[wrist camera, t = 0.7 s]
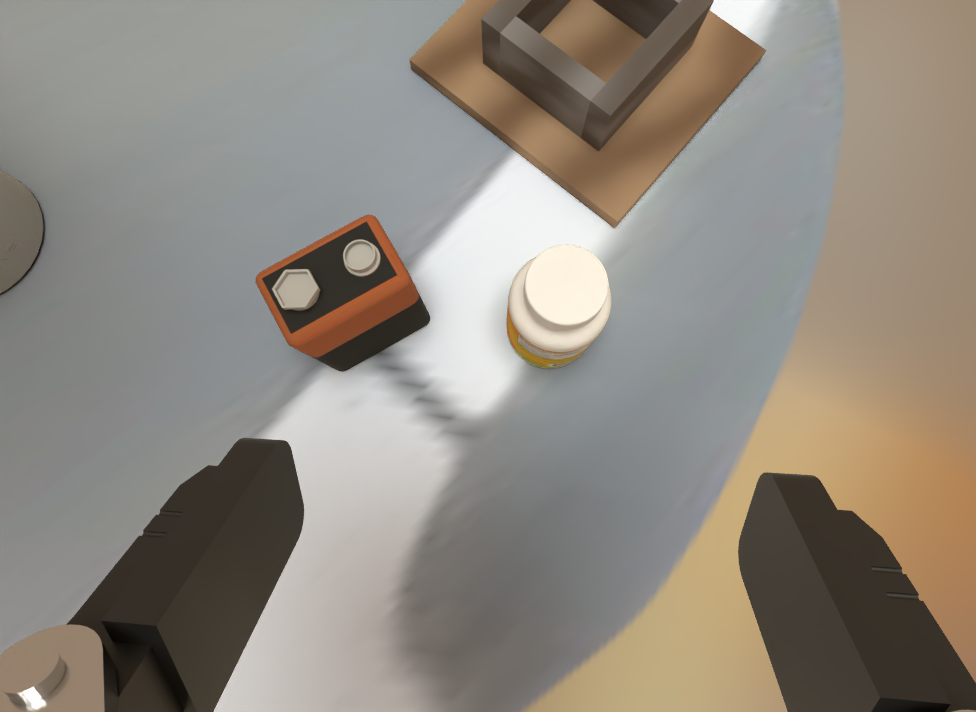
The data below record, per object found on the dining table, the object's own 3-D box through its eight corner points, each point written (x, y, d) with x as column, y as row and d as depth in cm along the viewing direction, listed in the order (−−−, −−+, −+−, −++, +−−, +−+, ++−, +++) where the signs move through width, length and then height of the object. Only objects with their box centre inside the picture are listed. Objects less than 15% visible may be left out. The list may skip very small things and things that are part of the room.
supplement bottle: (529, 273, 37) (540, 211, 27) (604, 309, 37) (642, 258, 27) (491, 346, 36) (489, 308, 27) (568, 384, 36) (594, 359, 26)
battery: (309, 317, 37) (240, 268, 27) (401, 266, 37) (367, 200, 27) (340, 375, 36) (281, 346, 26) (433, 323, 37) (410, 274, 27)
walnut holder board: (411, 69, 40) (399, 15, 35) (558, -83, 41) (566, -155, 37) (614, 228, 37) (632, 193, 33) (759, 60, 39) (797, 4, 34)
